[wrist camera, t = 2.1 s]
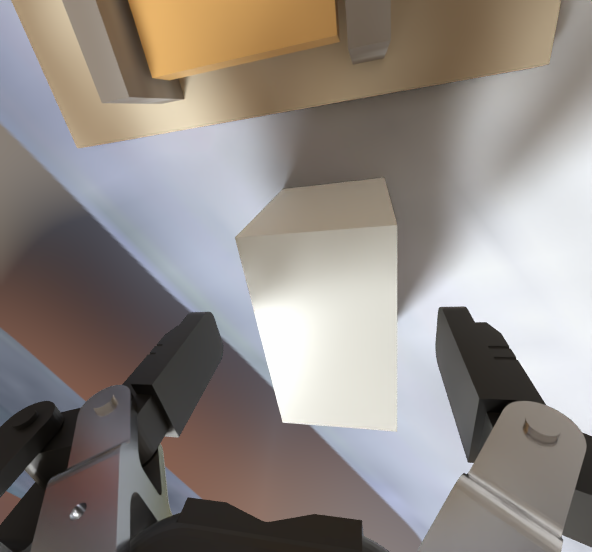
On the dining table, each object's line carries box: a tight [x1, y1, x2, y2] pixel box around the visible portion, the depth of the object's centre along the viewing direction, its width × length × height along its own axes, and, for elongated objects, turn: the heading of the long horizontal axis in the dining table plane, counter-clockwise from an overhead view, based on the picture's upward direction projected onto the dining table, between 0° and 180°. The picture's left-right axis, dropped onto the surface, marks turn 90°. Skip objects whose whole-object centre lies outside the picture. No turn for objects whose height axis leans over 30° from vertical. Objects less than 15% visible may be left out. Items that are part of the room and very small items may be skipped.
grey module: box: [235, 178, 397, 431], centre depth 13 cm, size 4×8×6 cm, turn 9°
